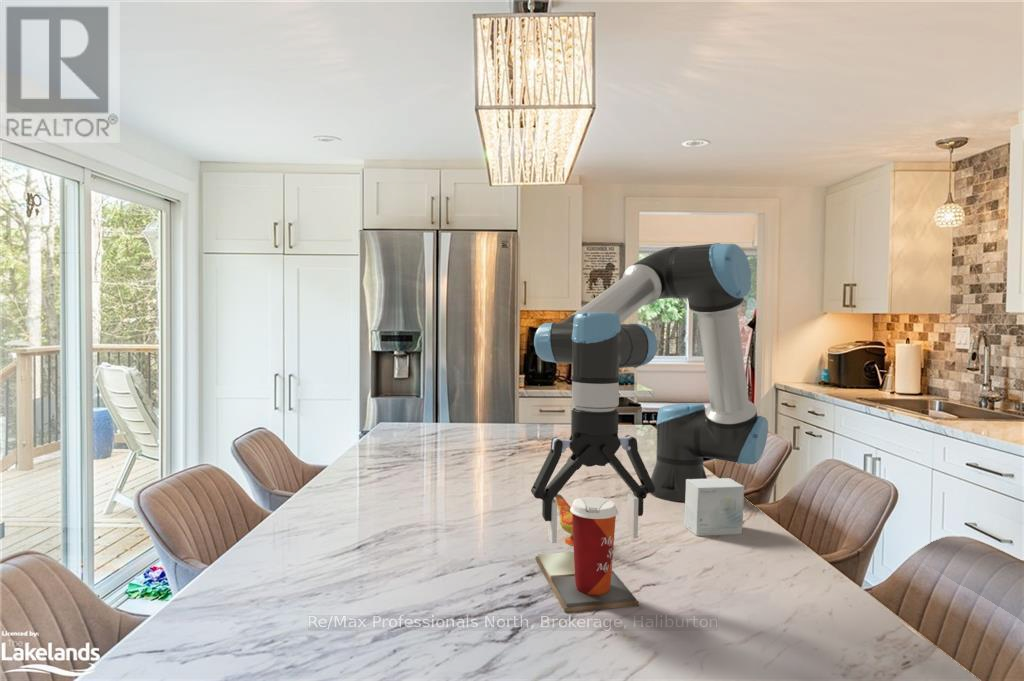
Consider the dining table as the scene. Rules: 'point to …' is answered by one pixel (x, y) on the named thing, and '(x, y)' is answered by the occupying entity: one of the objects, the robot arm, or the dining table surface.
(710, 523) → the skincare box
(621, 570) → the dining table surface
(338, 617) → the dining table surface
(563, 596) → the wooden framed mirror
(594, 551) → the paper cup
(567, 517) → the magic lamp
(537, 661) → the dining table surface
